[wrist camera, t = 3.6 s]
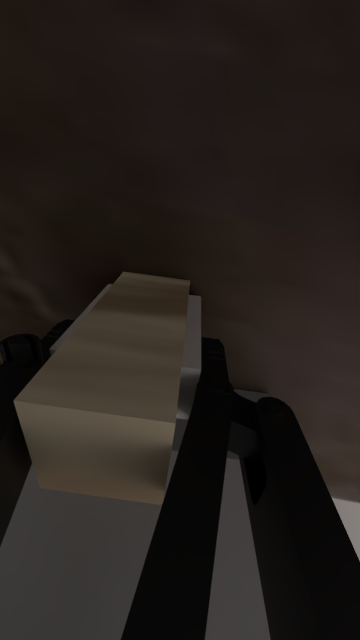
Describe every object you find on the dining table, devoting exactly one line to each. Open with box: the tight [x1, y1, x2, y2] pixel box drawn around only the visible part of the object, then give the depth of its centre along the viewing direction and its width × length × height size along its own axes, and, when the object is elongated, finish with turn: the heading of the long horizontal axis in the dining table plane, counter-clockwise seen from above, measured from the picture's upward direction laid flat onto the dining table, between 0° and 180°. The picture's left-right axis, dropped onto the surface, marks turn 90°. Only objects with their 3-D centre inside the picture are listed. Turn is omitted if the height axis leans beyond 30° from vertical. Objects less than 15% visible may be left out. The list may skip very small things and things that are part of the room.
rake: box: [14, 272, 190, 505], centre depth 15 cm, size 20×10×10 cm, turn 173°
